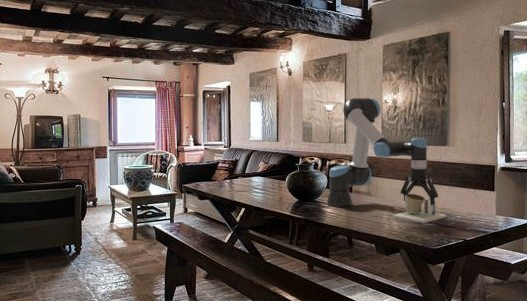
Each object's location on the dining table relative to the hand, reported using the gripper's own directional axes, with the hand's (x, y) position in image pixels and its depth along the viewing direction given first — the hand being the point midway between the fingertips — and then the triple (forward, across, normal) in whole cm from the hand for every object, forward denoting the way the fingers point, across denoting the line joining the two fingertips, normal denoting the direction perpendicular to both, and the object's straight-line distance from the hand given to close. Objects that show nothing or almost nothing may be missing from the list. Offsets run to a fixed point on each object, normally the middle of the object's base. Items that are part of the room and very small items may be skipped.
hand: (418, 209), depth 223 cm
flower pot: (+2, -4, 0) cm, 4 cm away
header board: (+4, 0, 0) cm, 4 cm away
